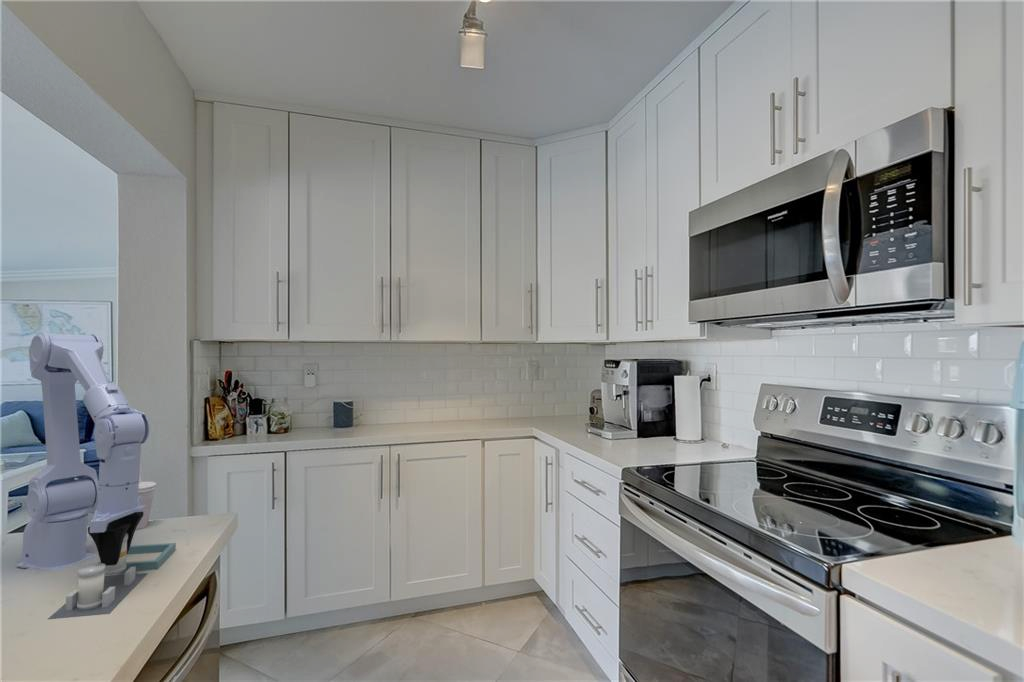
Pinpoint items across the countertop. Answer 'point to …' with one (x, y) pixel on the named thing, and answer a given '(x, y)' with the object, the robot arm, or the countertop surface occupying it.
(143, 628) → the countertop surface
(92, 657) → the countertop surface
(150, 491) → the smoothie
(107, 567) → the marked fuse
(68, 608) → the fuse board
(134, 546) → the tray
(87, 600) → the cylinder
